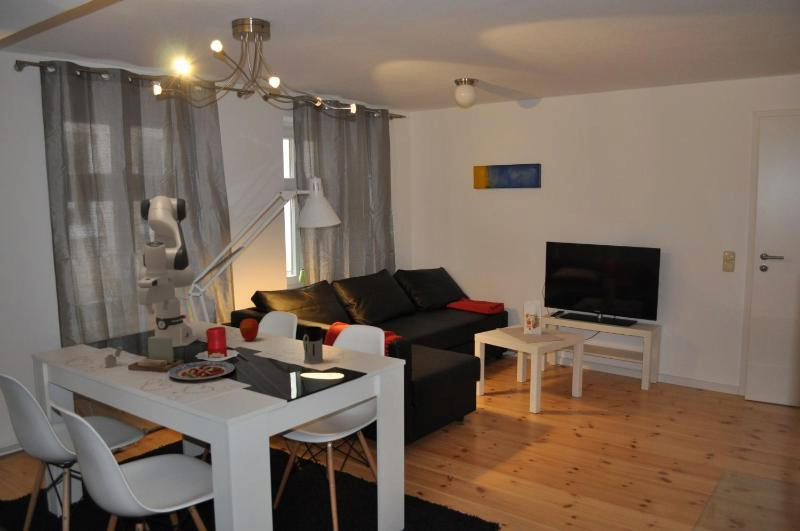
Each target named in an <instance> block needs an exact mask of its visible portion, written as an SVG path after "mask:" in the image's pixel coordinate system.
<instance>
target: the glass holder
mask: <svg viewBox="0 0 800 531" xmlns="http://www.w3.org/2000/svg"><path fill="white" fill-rule="evenodd" d="M322 329H323V328H322V327H321V326H316V325H314V326H313V325H311V326H306V327H304V330H303V333H304V335H303V339H302V344H303V352H304V359H303V363H304V364H305V365H319V364H322V363H324V362H325V360H324V359H323V358H324V357H323V356H324V355H323V353H324V350H323V336H322V335H323V334H322V332H323V330H322Z"/></svg>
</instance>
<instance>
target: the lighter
mask: <svg viewBox="0 0 800 531" xmlns="http://www.w3.org/2000/svg"><path fill="white" fill-rule="evenodd" d="M122 350H123V347H121V346H117V348H116V350H115V353H114V354H112V353H110V354H107V356H105V357H104V364H105V368H106V369H109V368H113V367H117V358H120V355H121V353H122Z"/></svg>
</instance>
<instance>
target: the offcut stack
mask: <svg viewBox="0 0 800 531" xmlns="http://www.w3.org/2000/svg"><path fill="white" fill-rule="evenodd" d="M136 362H137V364H139V365H144V366H157V367H166V366H167V361H165V360H152V359H145V358H143V360H142V359H140V360H137V361H136Z"/></svg>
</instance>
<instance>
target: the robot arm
mask: <svg viewBox="0 0 800 531" xmlns="http://www.w3.org/2000/svg"><path fill="white" fill-rule="evenodd" d="M138 209H139V210H138V211H139V214H140V216H141V219H143V220H145V221H147V223H148V227H149V229H150V230H151V231H153V232H154V236H153V237H154V239H153V240H154V241H150V242H147V243H146V244H145V248H144V254H143V255H142V259H143V266H144V267H142V268H141V269H140V270H139V272H138V275H137V280H138V282H137V287H138V291H137V296H138V297H137V298H138V304H139V305H140V306H145V307H146V309H147V311H148V315H153V314H155V311H156V316H155V324H156V327H155V328H154V337H169V338H172V341H173V348H177V347H186V346H189V345H190V344H192V343H194V342H196V341H197V340H199V337H198V336H194V333H193V329H192V327H190V326H189V325H188V324H186V323H185V322H184V320H186V319H187V315H186V314H181V301H180V299H179V298H178V296H176V288H181V289H182V288H186V287H189V286H192V284H193V283H194V281H195V279H196V274H195V273H196V272H195V271H194V269H193V268H192V267H191V266H190V260H191V259H190V255H189V252H188V250H187V245H186V242H185V237H184V233H183V229H182V225H181V222H182V221H184V220H185V219H186V218H187V217H188V213H189V205H188V204H187V201H186V200H185V199H184V198H179V197H177V198H175V197H174V198H173V197H167V196H165V195H157V196H155V197H153V198H151V199H150V198H146V199H143V200H142V201H140V205H139V208H138ZM153 304H155V309H153Z"/></svg>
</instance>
